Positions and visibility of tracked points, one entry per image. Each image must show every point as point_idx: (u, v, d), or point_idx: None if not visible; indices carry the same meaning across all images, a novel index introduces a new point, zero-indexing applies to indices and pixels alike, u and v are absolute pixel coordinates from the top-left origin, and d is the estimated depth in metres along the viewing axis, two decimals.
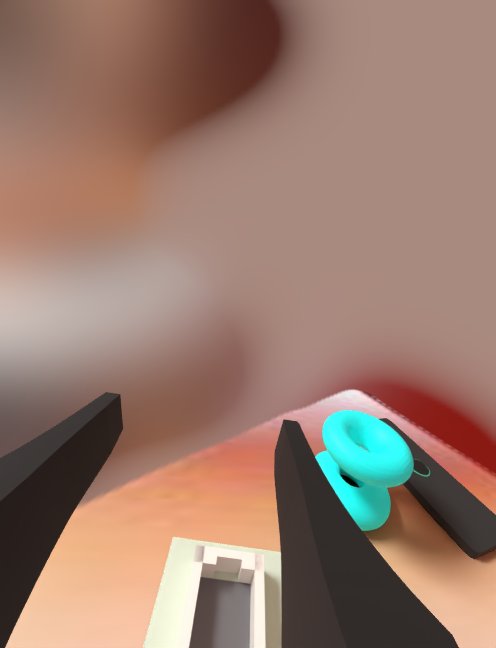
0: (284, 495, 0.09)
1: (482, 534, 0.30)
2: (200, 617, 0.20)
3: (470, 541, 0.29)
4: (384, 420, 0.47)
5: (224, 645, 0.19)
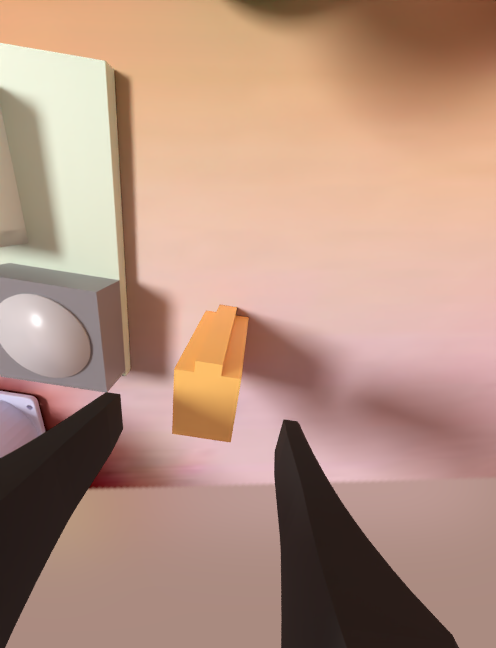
0: (284, 495, 0.09)
1: None
2: None
3: None
4: None
5: None
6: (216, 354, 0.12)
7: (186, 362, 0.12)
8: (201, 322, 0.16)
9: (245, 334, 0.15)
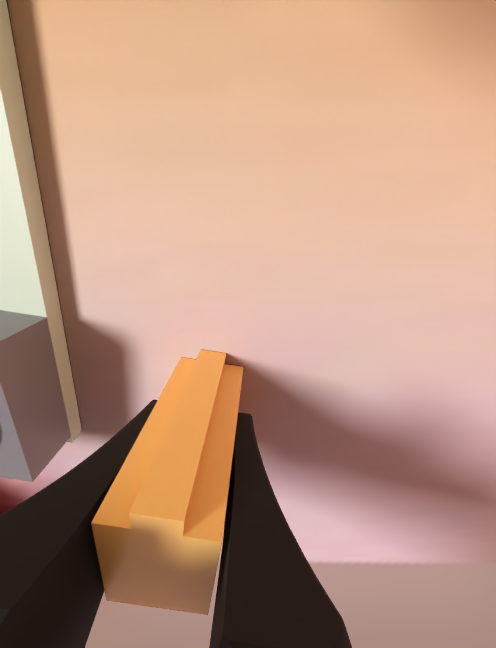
0: None
1: None
2: None
3: None
4: None
5: None
6: (176, 484, 0.06)
7: (121, 497, 0.06)
8: (170, 383, 0.10)
9: (236, 406, 0.10)
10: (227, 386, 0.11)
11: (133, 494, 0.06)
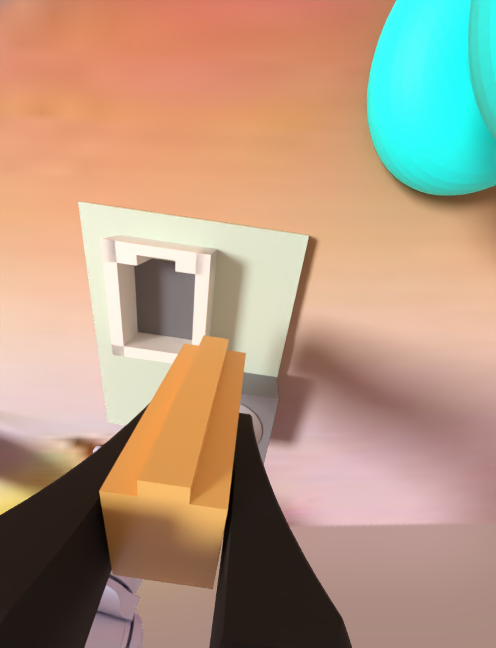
0: None
1: None
2: (143, 292, 0.17)
3: None
4: None
5: (173, 314, 0.18)
6: (182, 455, 0.06)
7: (127, 469, 0.06)
8: (173, 366, 0.10)
9: (240, 388, 0.10)
10: (230, 370, 0.11)
11: (140, 466, 0.07)
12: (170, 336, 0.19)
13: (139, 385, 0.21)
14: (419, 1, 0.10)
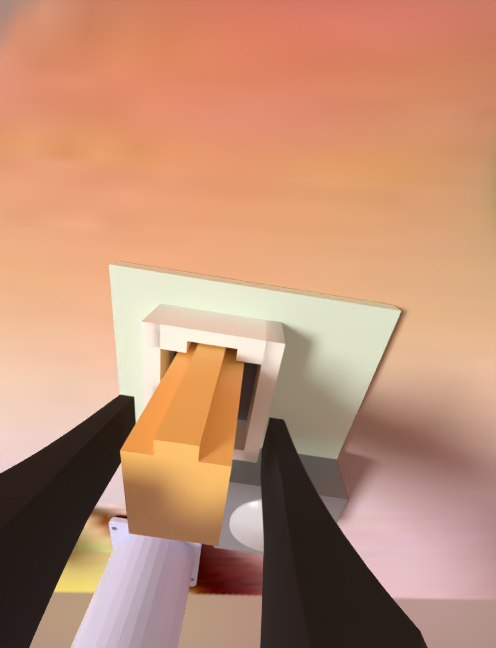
0: (267, 492, 0.09)
1: None
2: None
3: None
4: None
5: None
6: (191, 421, 0.07)
7: (143, 434, 0.07)
8: (180, 352, 0.11)
9: (241, 370, 0.11)
10: (232, 356, 0.12)
11: (154, 432, 0.07)
12: None
13: None
14: None
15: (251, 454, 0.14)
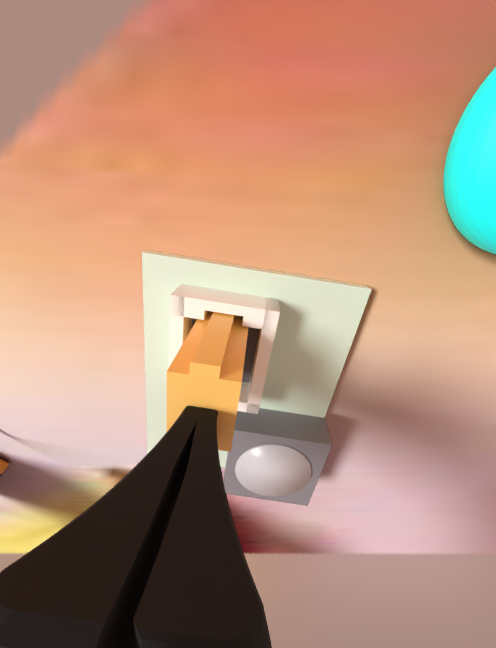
0: None
1: None
2: None
3: None
4: None
5: None
6: (214, 354, 0.11)
7: (180, 364, 0.11)
8: (198, 320, 0.15)
9: (246, 332, 0.14)
10: (239, 323, 0.15)
11: (187, 363, 0.11)
12: None
13: None
14: None
15: (253, 407, 0.17)
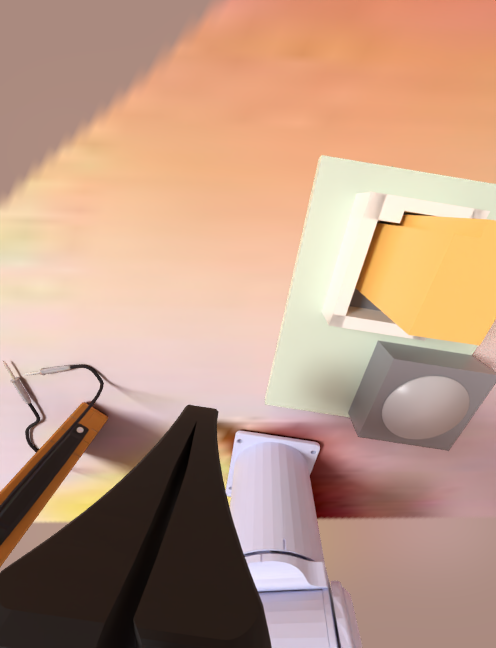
0: None
1: None
2: None
3: None
4: None
5: None
6: None
7: None
8: (391, 225, 0.13)
9: None
10: None
11: (458, 234, 0.10)
12: (369, 309, 0.18)
13: (315, 363, 0.20)
14: None
15: None
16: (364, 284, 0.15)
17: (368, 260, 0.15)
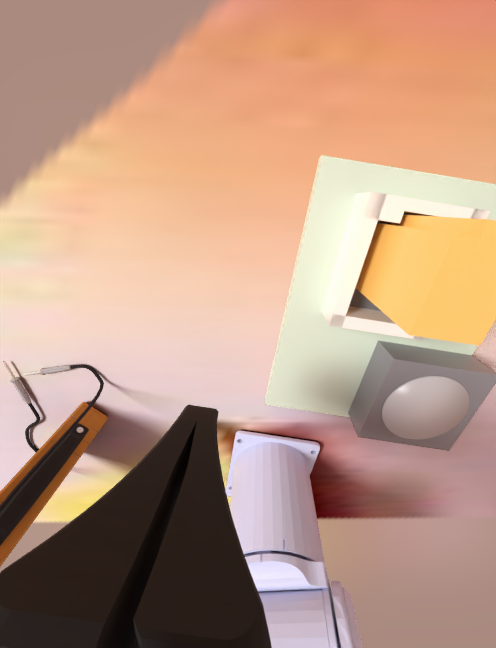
0: None
1: None
2: None
3: None
4: None
5: None
6: None
7: None
8: (391, 225, 0.13)
9: None
10: None
11: (458, 234, 0.10)
12: (369, 309, 0.18)
13: (315, 363, 0.20)
14: None
15: None
16: (364, 284, 0.15)
17: (368, 260, 0.15)
